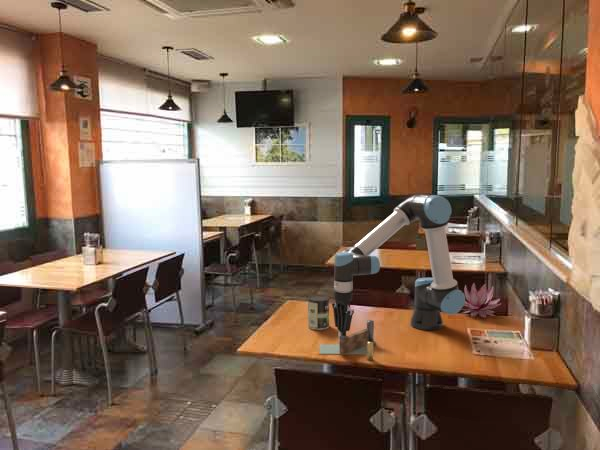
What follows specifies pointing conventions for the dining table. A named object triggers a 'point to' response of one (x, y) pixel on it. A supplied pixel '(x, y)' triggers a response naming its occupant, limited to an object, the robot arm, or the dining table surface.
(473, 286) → the decorative flower
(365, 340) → the gate
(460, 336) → the dining table surface
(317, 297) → the coffee can
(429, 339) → the dining table surface
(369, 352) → the post
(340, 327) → the robot arm
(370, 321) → the hinge post
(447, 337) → the dining table surface
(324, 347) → the mat
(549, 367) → the dining table surface
